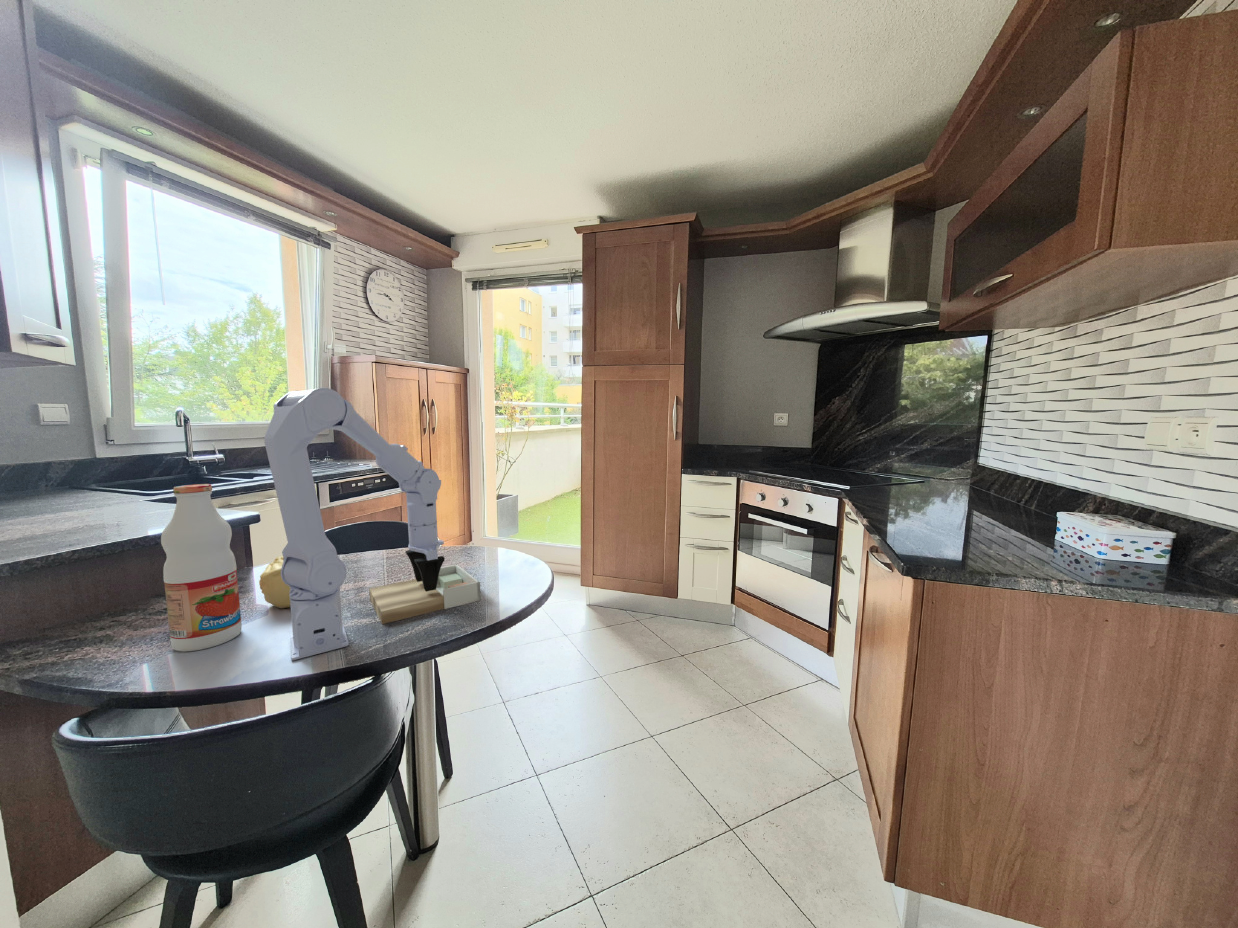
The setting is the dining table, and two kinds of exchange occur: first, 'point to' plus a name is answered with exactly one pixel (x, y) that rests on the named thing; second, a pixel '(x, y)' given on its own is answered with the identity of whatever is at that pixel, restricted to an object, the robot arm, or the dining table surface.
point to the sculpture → (275, 585)
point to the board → (404, 600)
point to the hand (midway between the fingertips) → (426, 585)
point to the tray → (459, 588)
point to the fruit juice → (199, 573)
